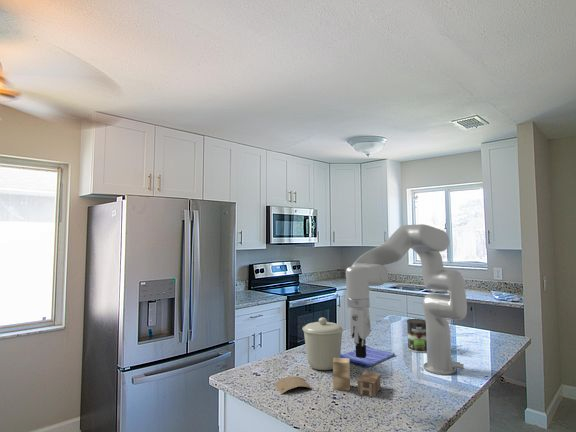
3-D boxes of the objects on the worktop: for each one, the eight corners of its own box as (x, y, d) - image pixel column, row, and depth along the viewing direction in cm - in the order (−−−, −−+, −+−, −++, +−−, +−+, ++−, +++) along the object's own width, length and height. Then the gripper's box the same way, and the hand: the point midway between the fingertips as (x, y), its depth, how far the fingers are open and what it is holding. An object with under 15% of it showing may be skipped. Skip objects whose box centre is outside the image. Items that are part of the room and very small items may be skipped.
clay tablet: (305, 380, 144) (305, 373, 144) (316, 390, 135) (315, 383, 135) (270, 386, 139) (270, 379, 139) (279, 397, 130) (279, 389, 130)
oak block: (350, 385, 138) (349, 358, 138) (349, 390, 133) (349, 362, 133) (334, 384, 139) (333, 357, 139) (333, 389, 134) (332, 362, 135)
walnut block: (374, 397, 127) (380, 387, 136) (374, 383, 127) (380, 373, 136) (357, 394, 130) (364, 384, 139) (357, 380, 130) (364, 371, 139)
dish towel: (335, 360, 167) (335, 354, 167) (364, 349, 183) (364, 343, 184) (367, 370, 155) (367, 363, 155) (395, 356, 171) (395, 350, 171)
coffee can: (431, 353, 173) (430, 323, 174) (408, 352, 176) (407, 322, 177) (428, 347, 183) (427, 318, 184) (406, 345, 186) (405, 318, 187)
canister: (294, 366, 158) (293, 317, 159) (321, 356, 171) (320, 311, 172) (326, 377, 145) (325, 324, 147) (352, 366, 158) (351, 317, 159)
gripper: (363, 308, 115) (366, 366, 115) (374, 298, 129) (377, 350, 128) (341, 306, 119) (344, 363, 118) (353, 298, 132) (356, 348, 131)
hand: (361, 356), depth 123 cm, fingers closed
